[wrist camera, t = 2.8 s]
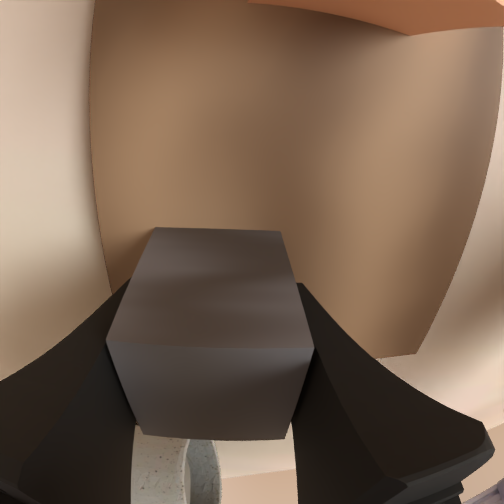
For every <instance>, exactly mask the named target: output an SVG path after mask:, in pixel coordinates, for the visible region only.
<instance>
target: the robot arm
mask: <svg viewBox="0 0 504 504" xmlns="http://www.w3.org/2000/svg"><path fill="white" fill-rule="evenodd" d="M131 278H132V277H131ZM131 278H130V279H128V280H127V281H126V282H125V283H124V284H123V285H122V286H121V287H120V288H119V289H118V290H117V291H116V292H115V293H114V294H113V295H112V296H111V297H110V298H109V299H108V300H107V301H106V302H104V303H103V304H102V305H101V306H100V307H99V308H98V309H97V310H96V311H95V312H94V313H93V314H92V315H91V316H90V317H89V318H87V319H86V320H85V321H84V322H83V323H82V324H81V325H79V326H78V327H77V328H76V329H75V330H74V331H73V332H72V333H70V334H69V335H68V336H67V337H66V338H64V339H63V340H62V341H61V342H59V343H58V344H57V345H56V346H54V347H53V348H52V349H50V350H49V351H47V352H46V353H45V354H43V355H42V356H41V357H39V358H38V359H36V360H35V361H33V362H31V363H30V364H28V365H27V366H25V367H24V368H22V369H20V370H19V371H17V372H16V373H14V374H12V375H11V376H9V377H7V378H5V379H3V380H2V381H0V504H131V470H132V454H133V443H134V433H135V424H136V418H135V416H134V413H133V411H132V409H131V406H130V404H129V402H128V399H127V397H126V394H125V392H124V389H123V387H122V384H121V382H120V379H119V377H118V374H117V371H116V368H115V366H114V363H113V360H112V357H111V355H110V352H109V349H108V346H107V343H106V338H107V335H108V333H109V330H110V328H111V325H112V323H113V320H114V318H115V315H116V313H117V310H118V308H119V305H120V303H121V301H122V298H123V296H124V294H125V291H126V289H127V287H128V285H129V282H130V280H131ZM296 284H297V288H298V291H299V295H300V298H301V302H302V305H303V309H304V312H305V316H306V319H307V323H308V326H309V330H310V333H311V337H312V340H313V344H314V351H313V354H312V357H311V361H310V364H309V367H308V371H307V374H306V377H305V380H304V383H303V386H302V389H301V393H300V396H299V399H298V402H297V405H296V408H295V411H294V413H293V416H292V419H291V424H292V430H293V439H294V450H295V461H296V472H297V473H296V474H297V489H298V504H504V478H503V479H502V480H500V481H499V482H498V483H497V484H496V485H494V486H492V487H490V488H489V489H487V490H486V491H484V492H482V493H481V494H478V495H476V496H475V497H473V498H471V499H469V500H467V501H466V502H463V503H461V501H460V498H459V494H461V493H463V490H464V488H463V486H462V483H461V481H462V480H463V479H465V478H466V477H468V476H469V475H470V474H472V473H473V472H474V471H476V470H477V469H478V468H480V467H481V466H482V465H483V464H485V463H486V462H487V461H488V460H489V459H490V458H491V457H492V456H493V454H494V451H495V448H494V446H493V444H492V441H491V439H490V437H489V435H488V433H487V431H486V429H485V427H484V425H483V423H482V422H481V421H478V420H476V419H474V418H471V417H469V416H467V415H464V414H462V413H460V412H457V411H455V410H453V409H451V408H449V407H447V406H445V405H443V404H441V403H439V402H437V401H435V400H434V399H432V398H430V397H428V396H427V395H425V394H423V393H422V392H420V391H418V390H417V389H415V388H413V387H412V386H411V385H409V384H408V383H406V382H405V381H403V380H402V379H400V378H399V377H397V376H396V375H395V374H393V373H392V372H390V371H389V370H388V369H386V368H385V367H384V366H383V365H382V364H380V363H379V362H378V361H377V360H375V359H374V358H373V357H372V356H371V355H369V354H368V353H367V352H366V351H365V350H364V349H363V348H362V347H360V346H359V345H358V344H357V343H356V342H355V341H354V340H353V339H352V338H351V337H350V336H349V335H348V334H347V333H346V332H345V331H344V330H343V329H342V328H341V327H340V326H339V325H338V323H337V322H336V321H335V320H334V319H333V318H332V317H331V316H330V315H329V314H328V312H327V311H326V310H325V309H324V308H323V307H322V305H321V304H320V303H319V302H318V301H317V300H316V298H315V297H314V296H313V295H312V294H311V293H310V291H309V290H308V289H307V288H306V287H305V286H304V284H303V283H296Z"/></svg>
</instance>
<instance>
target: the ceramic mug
mask: <svg viewBox="0 0 504 504" xmlns="http://www.w3.org/2000/svg"><path fill="white" fill-rule="evenodd" d="M221 485H222V484H221V471H220V464H219V458H218V454H217V449H216V446H215V443H214V441H213V440H197V439H181V438H169V437H159V436H150V435H143V433H142V431H141V429H140V427H139V425H135V433H134V443H133V454H132V470H131V504H221V498H222V486H221Z"/></svg>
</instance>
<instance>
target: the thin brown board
mask: <svg viewBox="0 0 504 504" xmlns="http://www.w3.org/2000/svg"><path fill="white" fill-rule="evenodd" d="M502 67H503V27H480V28H466V29H456V30H447V31H439V32H432V33H425V34H419V35H413V36H409V35H406V34H403V33H400V32H397V31H394V30H391V29H388V28H385V27H382V26H378V25H375V24H371V23H368V22H364V21H360V20H356V19H352V18H348V17H343V16H339V15H334V14H329V13H324V12H319V11H313V10H308V9H301V8H294V7H287V6H279V5H269V4H258V3H248V0H95V8H94V17H93V27H92V38H91V54H90V80H89V112H90V140H91V156H92V168H93V179H94V189H95V198H96V206H97V213H98V220H99V227H100V234H101V240H102V246H103V251H104V257H105V262H106V267H107V272H108V277H109V282H110V287H111V291H112V295H113V294H114V293H115V292H116V291H117V290H118V289H119V288H120V287H121V286H122V285H123V284H124V283H125V282H126V281H127V280H128V279H130V278H131V277H132V278H131V280H130V282H129V285H128V287H127V289H126V291H125V294H124V296H123V298H122V301H121V303H120V305H119V308H118V310H117V313H116V315H115V318H114V320H113V323H112V325H111V328H110V330H109V333H108V335H107V338H106V343H107V346H108V349H109V352H110V355H111V357H112V360H113V363H114V366H115V368H116V371H117V374H118V377H119V379H120V382H121V384H122V387H123V389H124V392H125V394H126V397H127V399H128V402H129V404H130V406H131V409H132V411H133V413H134V416H135V418H136V420H137V422H138V424H139V427H140V429H141V431H142V433H143V435H150V436H159V437H169V438H181V439H197V440H224V441H251V440H278V439H285V436H286V433H287V431H288V428H289V425H290V422H291V419H292V416H293V413H294V411H295V408H296V405H297V402H298V399H299V396H300V393H301V389H302V386H303V383H304V380H305V377H306V374H307V371H308V367H309V364H310V361H311V357H312V354H313V351H314V344H313V340H312V337H311V333H310V330H309V326H308V323H307V319H306V316H305V312H304V309H303V305H302V302H301V298H300V295H299V291H298V288H297V284H296V283H303V284H304V286H305V287H306V288H307V289H308V290H309V291H310V293H311V294H312V295H313V296H314V297H315V298H316V300H317V301H318V302H319V303H320V304H321V305H322V307H323V308H324V309H325V310H326V311H327V312H328V314H329V315H330V316H331V317H332V318H333V319H334V320H335V321H336V322H337V323H338V325H339V326H340V327H341V328H342V329H343V330H344V331H345V332H346V333H347V334H348V335H349V336H350V337H351V338H352V339H353V340H354V341H355V342H356V343H357V344H358V345H359V346H360V347H362V348H363V349H364V350H365V351H366V352H367V353H368V354H369V355H371V356H372V357H373V358H374V359H376V358H385V357H394V356H402V355H409V354H416V353H417V351H418V349H419V347H420V346H421V344H422V342H423V340H424V338H425V336H426V334H427V332H428V330H429V328H430V326H431V324H432V322H433V320H434V318H435V316H436V314H437V312H438V310H439V308H440V306H441V304H442V301H443V299H444V297H445V295H446V293H447V290H448V288H449V286H450V283H451V281H452V279H453V276H454V274H455V271H456V269H457V266H458V264H459V261H460V258H461V256H462V253H463V250H464V248H465V245H466V242H467V239H468V236H469V233H470V231H471V228H472V224H473V221H474V218H475V215H476V212H477V208H478V205H479V201H480V198H481V194H482V191H483V187H484V183H485V179H486V175H487V171H488V166H489V162H490V157H491V152H492V147H493V142H494V137H495V131H496V124H497V118H498V110H499V102H500V93H501V82H502Z"/></svg>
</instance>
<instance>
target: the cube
mask: <svg viewBox="0 0 504 504" xmlns="http://www.w3.org/2000/svg"><path fill="white" fill-rule="evenodd" d="M248 3H258V4H269V5H279V6H287V7H294V8H301V9H308V10H313V11H319V12H324V13H329V14H334V15H339V16H343V17H348V18H352V19H356V20H360V21H364V22H368V23H371V24H375V25H378V26H382V27H385V28H388V29H391V30H394V31H397V32H400V33H403V34H406V35H409V36H413V35H419V34H425V33H432V32H439V31H447V30H456V29H466V28H480V27H504V0H248Z"/></svg>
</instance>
